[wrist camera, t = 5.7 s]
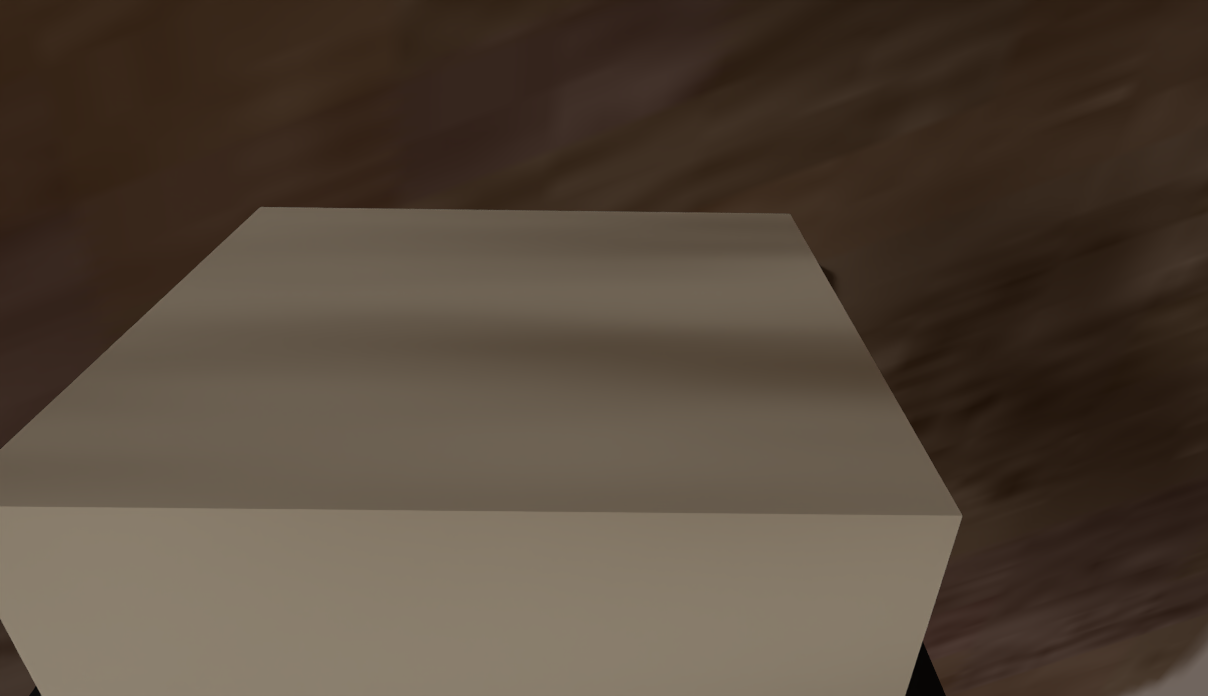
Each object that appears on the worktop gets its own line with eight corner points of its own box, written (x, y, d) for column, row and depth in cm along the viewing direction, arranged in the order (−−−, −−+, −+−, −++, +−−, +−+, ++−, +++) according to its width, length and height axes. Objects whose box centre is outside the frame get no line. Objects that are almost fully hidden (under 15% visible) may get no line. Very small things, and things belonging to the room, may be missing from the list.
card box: (259, 206, 9) (-61, 505, 5) (789, 213, 9) (963, 515, 5) (368, 710, 13) (258, 1100, 9) (720, 713, 14) (775, 1102, 9)
